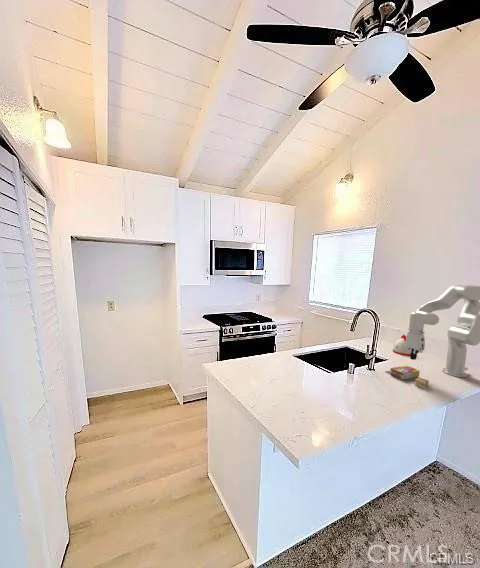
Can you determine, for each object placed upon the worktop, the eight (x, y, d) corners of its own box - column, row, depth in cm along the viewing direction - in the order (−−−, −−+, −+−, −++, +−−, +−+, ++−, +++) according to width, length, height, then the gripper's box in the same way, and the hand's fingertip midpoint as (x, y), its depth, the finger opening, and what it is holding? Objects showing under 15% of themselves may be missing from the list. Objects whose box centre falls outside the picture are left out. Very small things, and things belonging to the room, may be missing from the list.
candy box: (405, 371, 171) (389, 373, 165) (406, 365, 171) (390, 367, 165) (419, 377, 163) (402, 379, 157) (420, 370, 162) (403, 373, 157)
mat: (401, 369, 173) (401, 369, 173) (421, 379, 160) (421, 378, 160) (385, 371, 169) (385, 371, 169) (404, 381, 156) (404, 380, 156)
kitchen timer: (396, 354, 204) (398, 336, 203) (389, 349, 217) (391, 332, 216) (416, 356, 202) (417, 338, 200) (407, 350, 215) (409, 333, 214)
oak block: (418, 383, 154) (419, 377, 154) (428, 387, 150) (428, 380, 150) (414, 385, 151) (415, 379, 151) (424, 389, 147) (425, 382, 147)
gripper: (431, 334, 159) (428, 363, 160) (409, 328, 173) (406, 354, 174) (423, 335, 156) (420, 364, 158) (400, 328, 171) (398, 355, 172)
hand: (413, 359), depth 166 cm, fingers closed
